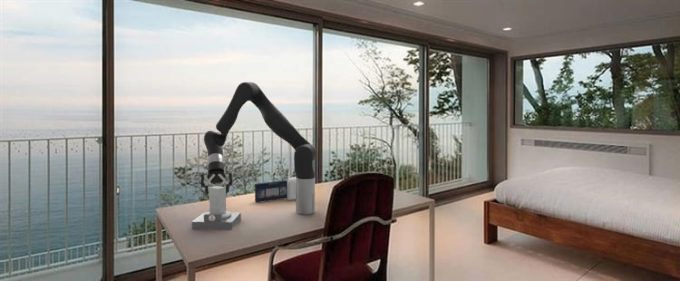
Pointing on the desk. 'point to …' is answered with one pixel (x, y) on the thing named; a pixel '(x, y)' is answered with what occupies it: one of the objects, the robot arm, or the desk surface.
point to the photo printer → (291, 188)
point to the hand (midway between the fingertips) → (217, 193)
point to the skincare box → (217, 199)
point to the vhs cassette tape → (270, 191)
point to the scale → (216, 220)
